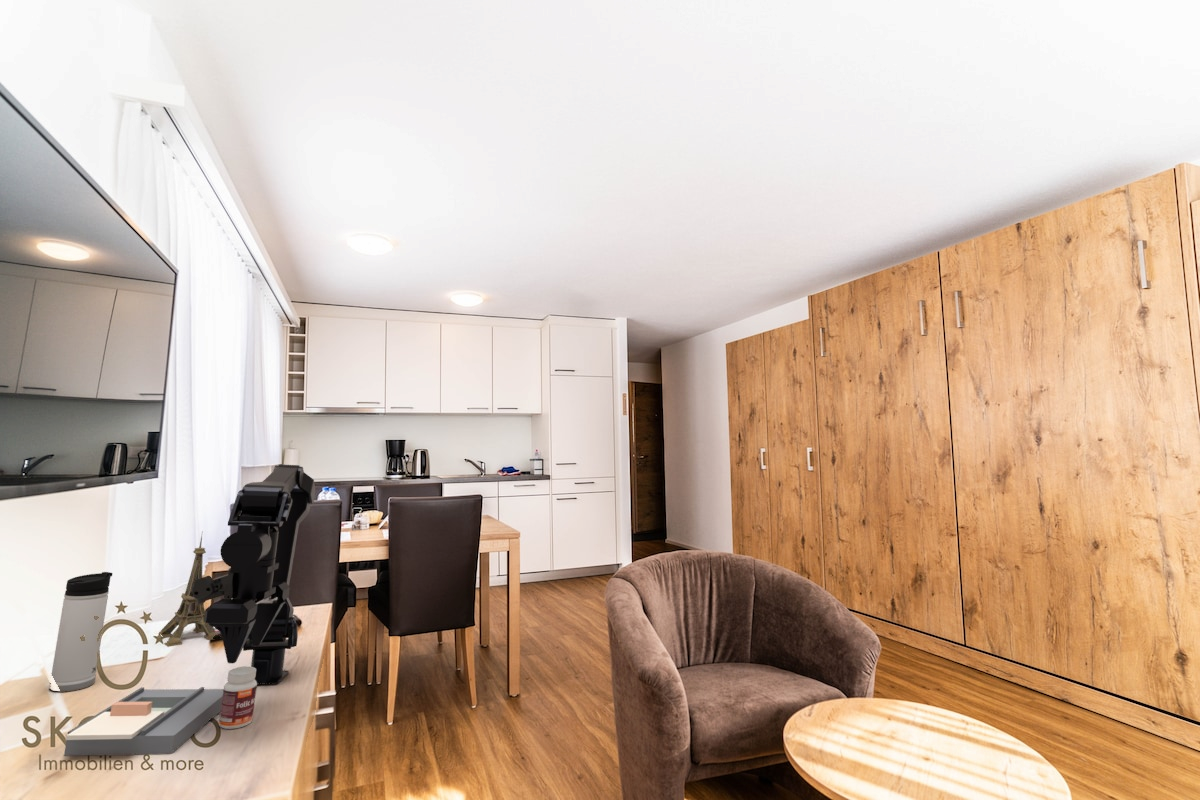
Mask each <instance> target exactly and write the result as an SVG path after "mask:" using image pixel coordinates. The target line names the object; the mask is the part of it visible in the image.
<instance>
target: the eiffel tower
mask: <svg viewBox="0 0 1200 800" xmlns="http://www.w3.org/2000/svg"><path fill="white" fill-rule="evenodd" d="M203 532H204V531H203V530H202V531H201V533H203ZM202 539H203V535H201V537H200V542H199V547H195V548H194V550H193V551H192V553H194V554H195V557H194V559H193V564H192V566H191V567H192V568H191V571H190V575H189V578H188V582H187V585H186V589H185V593H181V596H180V598H181V599H182V601H181V603H180V605H179V608H178V609H177V611H176V612H174V614H175V615H174V616H173V617H172V618H171V619H170V620H169V621H168V622H167V623H166V624H165V625H164V627H163V628H162V629H161V630H160V631H159V633H158V634H161V635H162V636H163V637H164V638H163V639H165V638H168V640H166V642H164V645H165V646H167V647H168V648H169V647H174V646H182V645H183V641H182V636H183V633H184V629H185V628H186V627H187V626H188V625H192V624H194V625H195V627H194V628H193V629H192V631H193V632H194V633H196V634H199V633H204V635H203V638H204V639H205V640H207V641H211V640H214V639H213V637H214V636H215V635H218V633H217V631H216V628H215V627H211V626H209V624H208V623H205V622H204V616H205V605H204V603H205V602H204V603H201V604H197V600H196V599H195V598H194V597H191V596H190V593H191V592H192V588H191V587H192V586H193V585H194V581H195V580H196V579H199V578H203V560H204V559H203V557H204V556H203V555H205V554H206V553H207V552H206V548H205V547H202ZM193 603H194V610H190V607H191V604H193Z"/></svg>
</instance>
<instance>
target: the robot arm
mask: <svg viewBox="0 0 1200 800" xmlns="http://www.w3.org/2000/svg"><path fill="white" fill-rule="evenodd" d="M315 498H316V486H315V479H314V478H312V477H311V476H309V474H307V473H306V472H305V471H304V467H303V466H301V465H297V464H283V463H282V464H278V465H275V466H274V467H273V470H272V472H271V473H270V474H268V476H266V478H265V479H263V480H262V481H256V482H254V481H253V482H249V483H246V484H245V485H243V486H242V489H241V490H239V491H238V492H237V495H236V497H235V501H234V502H233V507H232V510H231V512H230V515H229V518H228V521H227V526H229V527H237V530H236V532H234V533H231V534H230V535H228V536H227V537H226V538H225V540H224V541H223V542H222V544H221V546H220V557H221V560H222V561H223V563H225V564H226V565H227V566H228V567H229V568H228V570H227V571H228V573H227V574H224V575H221V576H218V577H215V578H213V577H212V576H211V575H206V576H202V578H199V579H196V580H195V581H194V585H193V586H192V587H191V588H192V592H191V593H190V596H191V597H194V598H195V599H196V600H197V604H201V603H206V601H209V600H212V599H216V598H219V597H223V598H222V599H219V600H218V601H215V602H213V603H211V604H210V605H209V606H208V607H207V608H204V610H205V616H204V622H205V623H208V624H209V626H211V627H213V628H214V629H215V630H217V631H219V633H220V637H221V639H222V643H223V648H224V653H225V657H226V661H227V663H228V664H235V663H237V661H238V659H239V657H240V654H241V653H242V651H244V652H245V651H246V652H247V651H252V655H251V662H250V667H254V668H256V676H255V679H254V680H256V682H257V685H277V684H279V683H280V682H281V681H282V680H283V679H284V678H286V677H287V675H288V674H289V673H290V671H289V670H287V669H286V670H284V664H285V657H286V649H287V650H291V649H292V648H294V647H297V645H298V639H299V638H298V637H299V635H298V634H299V633H298V631H299V630H298V628H299V627H298V623H297V622H296V617H295V616H294V612H295V611H294V610H295V609H294V607H293V605H292V602H291V600H290V598H289V597H290V591H291V587H290V582H291V576H292V570H293V563H294V558H295V551H296V545H297V538H298V533H299V527H300V524H301V523H302V522H303V520H304V519H305V518H306V517H307V516H308V515H309V513H310V511H311V510H310V509H311V505H312V504H314V503H315V500H316V499H315Z"/></svg>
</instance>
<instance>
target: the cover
mask: <svg viewBox="0 0 1200 800" xmlns="http://www.w3.org/2000/svg"><path fill="white" fill-rule="evenodd" d="M111 705H112V706H111ZM111 705H110V706H111V712H104V713H102V714H100V715H99V716H97V717H95V718H94V719H92V720H91V721H89V722H87V723H86V724H84V725H82V726H81V727H79V728H77V729H76V730H74V731H73V732H71V733H69V734H68V733H67V734H68V735H67V734H65V741H66V740H96V739H132V738H133V737H135V736H136V735H137V734H139V733H140V732H141V731H142V730H143V729H144V728H146V727H147V726H148V725H150V724H151V723H153V722H154V721H155V720H157V719H158V718H159V717H161V716H162V715H164V711H151V708H152V702H118V701H116V702H114V703H113V704H111Z"/></svg>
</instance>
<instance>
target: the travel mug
mask: <svg viewBox="0 0 1200 800" xmlns="http://www.w3.org/2000/svg"><path fill="white" fill-rule="evenodd" d="M112 577H113V572H109V571H102V572H101V573H91V574H89V573H88V574H84V575H83V574H82V575H79V576H78V575H77V576H75V577H72V578H69V579H68V580H66V586H65V593H64V595H63V596H64V598H63V601H62V602H63V603H62V607H61V615H60V620H59V625H58V632H57V637H56V638H57V639H56V643H55V644H56V645H55V651H54V658H53V663H52V669H51V674H52V676H53V678H54V680H55V682H56V684H57V685H58V687H59V689H60V691H61V692H60V693H66V692H65V691H68V692H74V691H79V689H80V690H83V689H86V688H88V687H90V686H92V685H93V684H94V683H95V682H96V675H97V674H96V673H97V670H98V669H97V668H98V664H97V652H98V654H99V655H100V650H101V644H102V637H103V633H102V634H101V636H100V639H99V641H98V642H97V638H98V634H99V631H100V630H101V629H102V628H103V629H104V626H105V625H104V623H105V617H106V611H107V605H108V600H109V599H108V598H109V597H108V594H109V593H110V591H109V586H110V582H111V578H112ZM94 616H98V617H99V618H98V619H97V620H95V619H94ZM83 635H85V636H83ZM81 636H83V637H85V641H81V640H80V637H81Z"/></svg>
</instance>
